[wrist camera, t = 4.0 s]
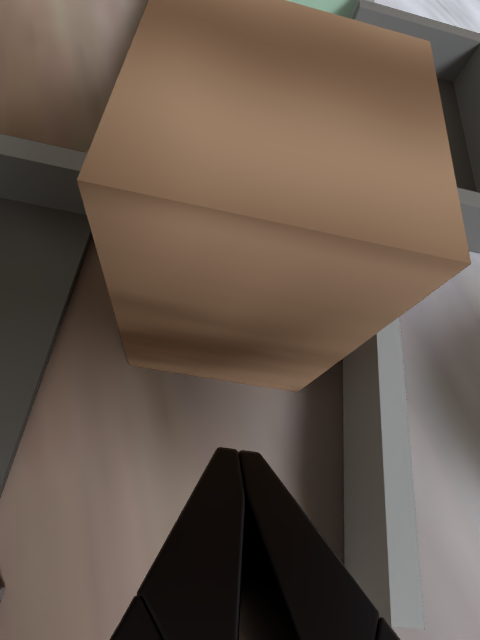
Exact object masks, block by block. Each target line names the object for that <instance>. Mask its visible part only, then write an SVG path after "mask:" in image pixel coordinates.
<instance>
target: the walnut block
mask: <svg viewBox="0 0 480 640" xmlns="http://www.w3.org/2000/svg"><path fill="white" fill-rule="evenodd" d="M77 182H78V186H79V190H80V193H81V197H82V200H83V204H84V207H85V211H86V214H87V218H88V221H89V225H90V228H91V232H92V235H93V239H94V243H95V246H96V250H97V253H98V257H99V260H100V264H101V267H102V271H103V274H104V278H105V281H106V285H107V289H108V292H109V296H110V299H111V303H112V306H113V310H114V313H115V317H116V320H117V324H118V327H119V331H120V335H121V338H122V342H123V345H124V349H125V352H126V356H127V359H128V363H129V365H131V366H137V367H143V368H149V369H156V370H162V371H168V372H175V373H181V374H187V375H193V376H200V377H206V378H212V379H219V380H225V381H231V382H237V383H244V384H250V385H256V386H263V387H269V388H275V389H281V390H288V391H294V392H298V391H300V390H301V389H302V388H304V387H305V386H307V385H308V384H309V383H311V382H312V381H313V380H315V379H316V378H317V377H319V376H320V375H321V374H323V373H324V372H325V371H327V370H328V369H329V368H331V367H332V366H333V365H335V364H336V363H338V362H339V361H340V360H342V359H343V358H344V357H346V356H347V355H348V354H350V353H351V352H352V351H354V350H355V349H356V348H358V347H359V346H360V345H362V344H363V343H365V342H366V341H367V340H369V339H370V338H371V337H373V336H374V335H375V334H377V333H378V332H379V331H381V330H382V329H383V328H385V327H386V326H387V325H389V324H390V323H392V322H393V321H394V320H396V319H397V318H398V317H400V316H401V315H402V314H404V313H405V312H406V311H408V310H409V309H410V308H412V307H413V306H414V305H416V304H417V303H419V302H420V301H421V300H423V299H424V298H425V297H427V296H428V295H429V294H431V293H432V292H433V291H435V290H436V289H437V288H439V287H440V286H441V285H443V284H444V283H446V282H447V281H448V280H450V279H451V278H452V277H454V276H455V275H456V274H458V273H459V272H460V271H462V270H463V269H464V268H466V267H467V266H468V265H470V264H471V261H470V255H469V250H468V244H467V239H466V233H465V228H464V223H463V217H462V212H461V206H460V201H459V195H458V190H457V185H456V179H455V174H454V168H453V163H452V158H451V152H450V147H449V141H448V136H447V130H446V125H445V120H444V114H443V109H442V103H441V98H440V92H439V87H438V82H437V76H436V71H435V65H434V60H433V55H432V49H431V44H430V41H427V40H424V39H420V38H417V37H413V36H410V35H406V34H403V33H399V32H396V31H392V30H389V29H385V28H381V27H378V26H374V25H371V24H367V23H364V22H360V21H357V20H353V19H350V18H346V17H343V16H339V15H336V14H332V13H329V12H325V11H322V10H318V9H315V8H311V7H308V6H304V5H301V4H297V3H294V2H290V1H286V0H149V1H148V3H147V6H146V8H145V11H144V13H143V16H142V18H141V21H140V23H139V26H138V28H137V31H136V33H135V36H134V38H133V41H132V43H131V46H130V48H129V51H128V53H127V56H126V58H125V61H124V63H123V66H122V68H121V71H120V73H119V76H118V78H117V81H116V83H115V86H114V88H113V91H112V93H111V96H110V98H109V101H108V103H107V106H106V108H105V111H104V113H103V116H102V118H101V121H100V123H99V126H98V128H97V131H96V133H95V136H94V138H93V141H92V143H91V146H90V148H89V151H88V153H87V156H86V158H85V161H84V163H83V166H82V168H81V171H80V173H79V176H78V178H77Z"/></svg>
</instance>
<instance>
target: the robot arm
mask: <svg viewBox="0 0 480 640" xmlns="http://www.w3.org/2000/svg"><path fill="white" fill-rule="evenodd" d="M379 616H380V614H379V611H378V610H377V608H376V607H375V606H374V604H373V603H372V602H371V600H370V599H369V598H368V596H367V595H366V594H365V592H364V591H363V590H362V588H361V587H360V586H359V584H358V583H357V582H356V580H355V579H354V578H353V576H352V575H351V574H350V572H349V571H348V570H347V568H346V567H345V566H344V564H343V563H342V562H341V560H340V559H339V558H338V556H337V555H336V554H335V552H334V551H333V550H332V548H331V547H330V546H329V544H328V543H327V542H326V540H325V539H324V538H323V536H322V535H321V534H320V532H319V531H318V530H317V528H316V527H315V526H314V524H313V523H312V522H311V520H310V519H309V518H308V516H307V515H306V514H305V512H304V511H303V510H302V509H301V507H300V506H299V505H298V503H297V502H296V501H295V499H294V498H293V497H292V495H291V494H290V493H289V491H288V490H287V489H286V487H285V486H284V485H283V483H282V482H281V481H280V479H279V478H278V477H277V475H276V474H275V473H274V471H273V470H272V469H271V467H270V466H269V465H268V463H267V462H266V461H265V459H264V458H263V457H262V455H261V454H260V453H258V452H252V451H245V450H241V451H239V452H238V451H237V450H236V449H230V448H223V447H219V448H217V449H216V451H215V452H214V454H213V456H212V458H211V460H210V462H209V463H208V465H207V467H206V469H205V471H204V472H203V474H202V476H201V478H200V480H199V481H198V483H197V485H196V487H195V489H194V490H193V492H192V494H191V496H190V498H189V499H188V501H187V503H186V505H185V507H184V508H183V510H182V512H181V514H180V516H179V517H178V519H177V521H176V523H175V525H174V526H173V528H172V530H171V532H170V534H169V535H168V537H167V539H166V541H165V543H164V545H163V546H162V548H161V550H160V552H159V554H158V555H157V557H156V559H155V561H154V563H153V564H152V566H151V568H150V570H149V572H148V573H147V575H146V577H145V579H144V581H143V582H142V584H141V586H140V588H139V590H138V592H137V596H135V597H134V598H133V600H132V602H131V603H130V605H129V607H128V609H127V611H126V612H125V614H124V616H123V618H122V619H121V621H120V623H119V625H118V626H117V628H116V630H115V631H114V633H113V635H112V636H111V638H110V640H400V638H399V637H398V636H397V634H396V633H395V632H394V631H393V629H392V628H391V627H390V625H389V624H388V623H387V621H386V620H385V619H384V618H383V617H380V618H379Z"/></svg>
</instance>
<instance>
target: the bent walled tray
mask: <svg viewBox="0 0 480 640" xmlns="http://www.w3.org/2000/svg"><path fill="white" fill-rule="evenodd" d="M286 1H290V2H294V3H297V4H301V5H304V6H308V7H311V8H315V9H318V10H322V11H325V12H329V13H332V14H336V15H339V16H343V17H346V18H350V19H353V20H357V21H360V22H364V23H367V24H371V25H374V26H378V27H381V28H385V29H389V30H392V31H396V32H399V33H403V34H406V35H410V36H413V37H417V38H420V39H424V40H427V41H430V44H431V49H432V55H433V60H434V65H435V71H436V76H437V82H438V87H439V92H440V98H441V103H442V109H443V114H444V120H445V125H446V130H447V136H448V141H449V147H450V152H451V158H452V163H453V168H454V174H455V179H456V185H457V190H458V195H459V201H460V206H461V212H462V217H463V223H464V228H465V233H466V239H467V244H468V250H469V251H471V252H476V253H480V34H479V33H476V32H473V31H469V30H466V29H462V28H459V27H456V26H452V25H449V24H445V23H442V22H438V21H435V20H432V19H428V18H425V17H421V16H418V15H414V14H411V13H408V12H404V11H401V10H397V9H394V8H391V7H387V6H384V5H380V4H377V3H374V0H286ZM86 156H87V153H85V152H81V151H76V150H72V149H67V148H62V147H58V146H53V145H49V144H44V143H40V142H35V141H31V140H26V139H22V138H17V137H13V136H8V135H4V134H0V497H1V494H2V492H3V489H4V486H5V483H6V480H7V477H8V474H9V471H10V469H11V466H12V463H13V460H14V457H15V454H16V451H17V449H18V446H19V443H20V440H21V437H22V434H23V431H24V428H25V426H26V423H27V420H28V417H29V414H30V411H31V408H32V405H33V403H34V400H35V397H36V394H37V391H38V388H39V385H40V382H41V380H42V377H43V374H44V371H45V368H46V365H47V362H48V359H49V357H50V354H51V351H52V348H53V345H54V342H55V339H56V336H57V334H58V331H59V328H60V325H61V322H62V319H63V316H64V313H65V311H66V308H67V305H68V302H69V299H70V296H71V293H72V290H73V288H74V285H75V282H76V279H77V276H78V273H79V270H80V267H81V265H82V262H83V259H84V256H85V253H86V250H87V247H88V244H89V242H90V239H91V236H92V232H91V228H90V225H89V221H88V218H87V214H86V211H85V207H84V204H83V200H82V197H81V193H80V190H79V186H78V182H77V178H78V176H79V173H80V171H81V168H82V166H83V163H84V161H85V158H86ZM343 452H344V566H345V567H346V568H347V570H348V571H349V572H350V574H351V575H352V576H353V578H354V579H355V580H356V582H357V583H358V584H359V586H360V587H361V588H362V590H363V591H364V592H365V594H366V595H367V596H368V598H369V599H370V600H371V602H372V603H373V604H374V606H375V607H376V608H377V610H378V611H379V614H380V616H379V618H380V617H383V618H384V619H385V620H386V621H387V623H388V624H389V625H390V626H391V627H400V628H412V629H423V630H425V622H424V610H423V598H422V585H421V573H420V561H419V548H418V536H417V524H416V512H415V499H414V487H413V475H412V462H411V450H410V438H409V425H408V413H407V401H406V388H405V376H404V364H403V351H402V339H401V327H400V317H398V318H397V319H396V320H394V321H393V322H392V323H390V324H389V325H387V326H386V327H385V328H383V329H382V330H381V331H379V332H378V333H377V334H375V335H374V336H373V337H371V338H370V339H369V340H367V341H366V342H365V343H363V344H362V345H360V346H359V347H358V348H356V349H355V350H354V351H352V352H351V353H350V354H348V355H347V356H346V357H344V358H343ZM4 589H5V587H3V586H0V602H1V598H2V595H3V592H4Z"/></svg>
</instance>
